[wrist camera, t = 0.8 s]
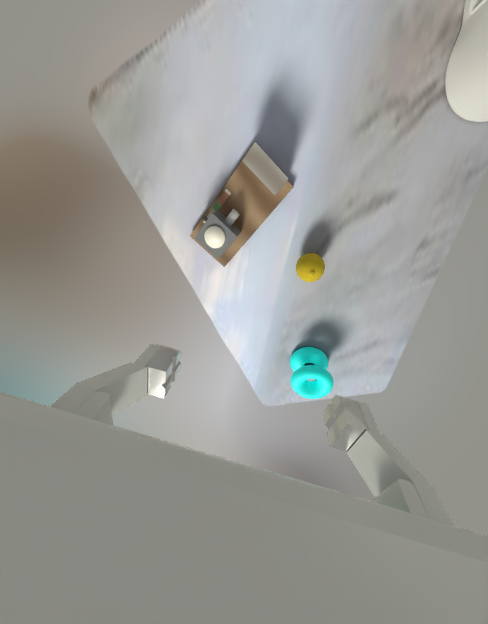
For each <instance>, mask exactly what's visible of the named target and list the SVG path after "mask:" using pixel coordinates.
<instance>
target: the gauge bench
mask: <svg viewBox="0 0 488 624" xmlns="http://www.w3.org/2000/svg"><path fill="white" fill-rule="evenodd" d="M292 188H293V186H292V185H291V184H290V183H289V182H288V177H287V176H286V175H285V174H284V173H283V172H282V171H281V170H280V169H279V167H278V166H277V165H276V164H275V163H274V162H273V161H272V160H271V159H270V158H269V156H268V155H267V154H266V153H265V152H264V151H263V150H262V149H261V148H260V146H259V145H258V144H257V143H256V142H255V143H254V144H253V145H252V147H251V148H250V150H249V151H248V152H247V154H246V155H245V157H244V158H243V160H242V161H241V163H240V164H239V166H238V167H237V168H236V170H235V171H234V173H233V174H232V176H231V177H230V179H229V180H228V181H227V183H226V184H225V186H224V187H223V189H222V190H221V192H220V193H219V194H218V196H217V197H216V199H215V200H214V202H213V203H212V205H211V206H210V208H209V209H208V210H207V212H206V213H205V215H204V216H206V217H207V218H209V217H210V215H211V214H212V213H214V212H218V211H220V212H221V213H222V214H223V215H224V216H225V217H226V218H227V216H228V215H229V214H230V212H231V211H232V210H233V209H235V210H236V211H237V212H238V213H239V214H240V215H239V216H238V218H237V219H236V220H235V222H234V223H233V225H234V226H235V227H237V228H238V229H239V230H240V231H241V233H240V235H239V236H238V237H237V238H236V239H235V241H234V242H233V243H232V244H231V245H230V247H229V248H228V249H227V250H226V251H225V253H224V254H223V255H222V256H221V257H220V258H219V259H217V258H216V257H215V256H214V255H213V254H211V253H210V252H209V251H208V250H207V249H206V248H205V247H204V246H203V245H201V244H200V243H199V242H198V241H197V240H196V239H195V236H196V235H197V234H198V232H199V231H200V229H201V228H202V227H203V225H204V224H205V221H204V220H203V219H201V221H200V222H199V223H198V225H197V226H196V228H195V229H194V231H193V232H192V234H191V235H190V237H191V238H193V239H194V240H195V241H196V242H197V243H198V244H199V245H200V246H202V247H203V248H204V249H205V250H206V251H207V252H208V253H209V254H210V255H212V256H213V257H214V258H215V259H216V260H217V261H218V262H219V263H221V264H222V265H223V266H224V267H225V266H226V264H227V263H228V262H229V261H230V260H231V259H232V258H233V256H234V255H235V254H236V253H237V252H238V251H239V249H240V248H241V247H242V246H243V245H244V244H245V243H246V241H247V240H248V239H249V238H250V237H251V236H252V234H253V233H254V232H255V231H256V230H257V229H258V227H259V226H260V225H261V224H262V223H263V222H264V221H265V219H266V218H267V217H268V216H269V215H270V214H271V212H272V211H273V210H274V209H275V208H276V207H277V205H278V204H279V203H280V202H281V201H282V200H283V199H284V197H285V196H286V195H287V194H288V193H289V192H290V190H291V189H292Z"/></svg>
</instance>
